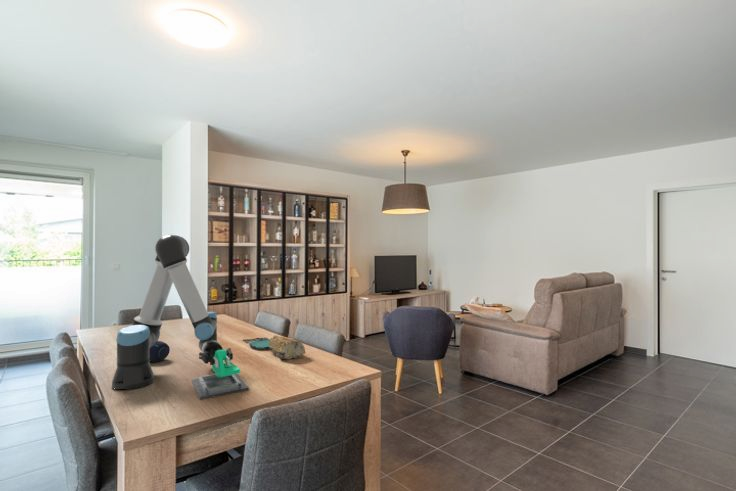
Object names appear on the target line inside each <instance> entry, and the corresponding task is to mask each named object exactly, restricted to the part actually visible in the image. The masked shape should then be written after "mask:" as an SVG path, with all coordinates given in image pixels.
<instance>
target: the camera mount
mask: <svg viewBox="0 0 736 491" xmlns="http://www.w3.org/2000/svg"><path fill="white" fill-rule="evenodd" d="M214 357H216V358H217V359H218V367H217V368H216V366H215V365H214V364H213V365H211V366H212V367H211V368H212V371H213V372H214V374H215V375H216V376H218V377H225V376H229V375H234V374H238V375H239V374H240V373H241V369H240V367H238V366H237V365H236V364H234V363H232V362H230V365H229V366H228V365H227V364H226V363H225V362H224V360H226V357H227V354H226V349H225V348H223V349H222V350H217V351H215V356H214Z"/></svg>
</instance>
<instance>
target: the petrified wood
mask: <svg viewBox="0 0 736 491" xmlns="http://www.w3.org/2000/svg"><path fill="white" fill-rule="evenodd" d="M269 339H270V342H269V343H270V346H269V347H270V348H269V351H270V352H271V353H272V354H274V355H275V356H276V357H277V358H280V359H283V360H290V359H300V358H302V356H304V354H306V348H305V345H304V343H303V342H302V341H298V340H296V339H292V338H289V337H286V336H279V335H276V334H275V335H274V336H272V337H271V338H269Z"/></svg>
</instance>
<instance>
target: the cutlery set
mask: <svg viewBox="0 0 736 491" xmlns="http://www.w3.org/2000/svg"><path fill="white" fill-rule="evenodd" d="M270 339H271V338H267V337H255V338H249V339H242V341H243V342H244V343H246V344H248V345H249V346H250V347H251V348H254V349H257V350H263V349H270V347H269V346H270V343H269V342H270Z"/></svg>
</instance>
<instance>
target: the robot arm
mask: <svg viewBox="0 0 736 491" xmlns="http://www.w3.org/2000/svg"><path fill="white" fill-rule="evenodd" d="M154 248H155V249H154V250H155V253H156V256H155V259H154V261H155V262H156V267H155V270H154V273H153V276H152V278H151V282H150V284H149V288H148V290H147V293H146V295H145V298H144V301H143V304H142V307H141V310H140V312H139V315H137V316H135V317H134V318H133V321H132V323H131V325H128V326H125V327H123V328H121V329H119V330H118V332H117V334H116V335H117V336H116V368H115V369H116V370H115V371H114V375H113V377H112V380H111V388H112V389H113V388H115V389H114V390H116V389H129V390H133V389H132V388H135V389H139V387H140V388H144V387H146V386H149V385H151V384H152V383H154V381H155V373H154V372H153V369H152V365H151V363H150V362H151V361H149V358H150V348H151V347H152V346H153V345H154V344H155V343H156V342H157V341H159V338H160V336H161V335H160V334H161V327H162V325H163V322H162V320H161V317H162V314H163V311H164V308H165V305H166V302H167V300H168V297H169V294H170V291H171V289H172V286H173V285H174V287H175V288H174V289H175V290H176V291H177V294H178V296H179V299H180V300H181V303H182V305H183V306H184V309H185V311H186V313H187V316H188V318H189V320H190V322H191V325H192V327H193V329H194V336H195V337H196V339H198V340H199V341H198V349H199V350H200V351H201V352H199V353H198V359H199V360H201V361H202V362H203V363H204V364H205V365H206V364H209V365H210V366H212V365H213V364H214V365H215V366H216V368H217V367H218V359H217V358H216V357H214V356H215V351H217V350H222V349H224V348H223V347H222V345H221V344H220V343H219V342H218V333H217V332H218V331H217V330H218V321H217V320H218V316H217V312H216V311H208V310H207V308H206V306H205V304H204V301H203V299H202V297H201V294H200V292H199V290H198V288H197V285H196V282H194V279H193V276H192V275H191V272H190V270H189V267H188V265H187V262H188V259H187V256H188V255H189V253H190V244H189V242H188V240H186V239H185V238H184V237H182V236H180V235H175V234H174V235H173V234H168V235H163V236H161V237H159V239H158V240H157V241H156V244H155V246H154ZM225 350H226V354H227V357H226V360H223V362H224V364H225V363H226V364H227V365H228V366H229V365H230V363H231V361H232V360H233V359H234V356H233V354H234V353H233V352H232V348H231V347H228V348H227V349H225Z"/></svg>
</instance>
